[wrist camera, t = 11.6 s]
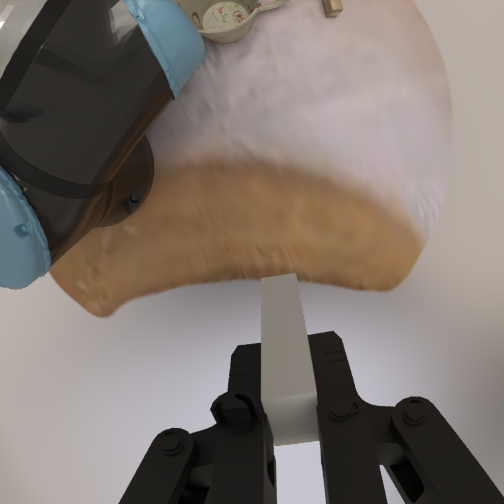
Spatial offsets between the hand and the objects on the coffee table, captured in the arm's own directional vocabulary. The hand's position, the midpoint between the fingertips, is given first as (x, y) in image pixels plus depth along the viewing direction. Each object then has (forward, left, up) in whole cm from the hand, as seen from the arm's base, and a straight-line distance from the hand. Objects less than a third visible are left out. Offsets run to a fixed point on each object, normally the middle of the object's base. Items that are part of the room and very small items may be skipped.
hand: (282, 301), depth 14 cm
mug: (+1, +21, -27) cm, 34 cm away
